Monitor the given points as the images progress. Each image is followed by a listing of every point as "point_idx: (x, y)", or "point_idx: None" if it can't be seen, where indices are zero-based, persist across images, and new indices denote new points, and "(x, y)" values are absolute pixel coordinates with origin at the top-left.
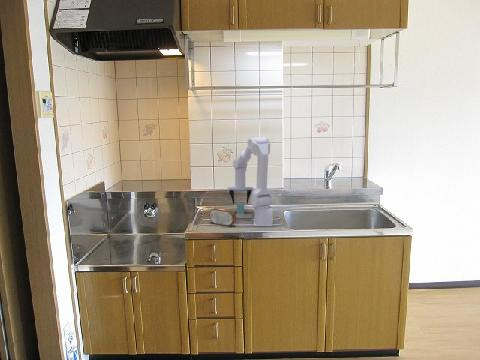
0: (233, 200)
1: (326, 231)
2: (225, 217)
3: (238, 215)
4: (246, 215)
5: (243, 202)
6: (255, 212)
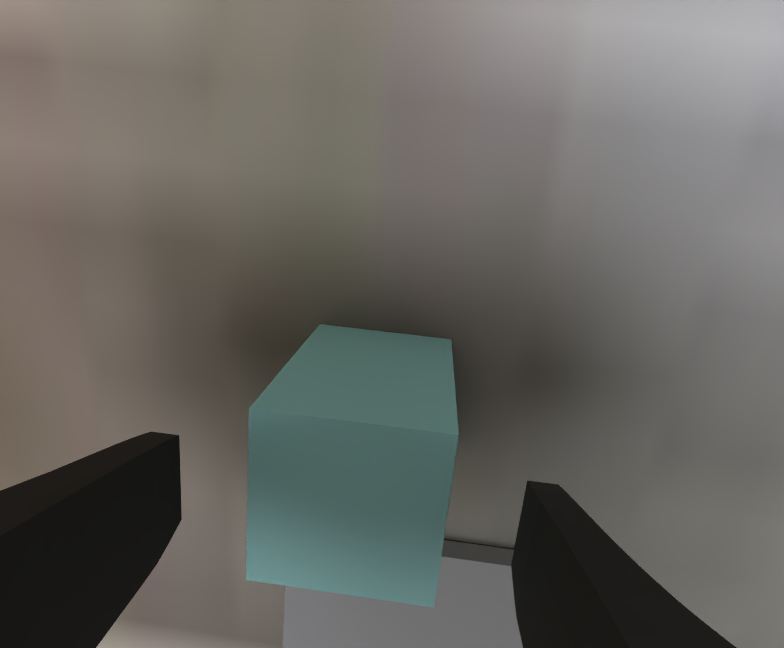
0: (107, 610)
1: None
2: None
3: (326, 611)
4: (454, 633)
5: (433, 481)
6: None
